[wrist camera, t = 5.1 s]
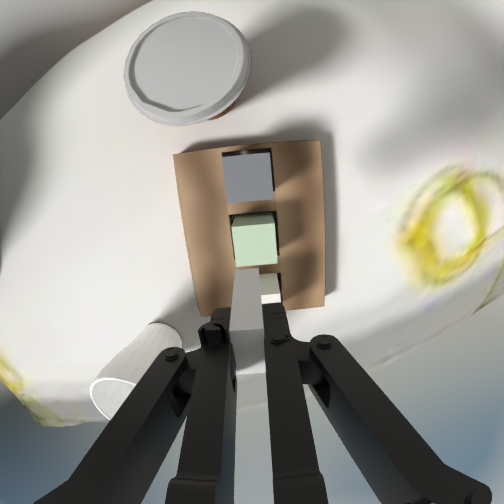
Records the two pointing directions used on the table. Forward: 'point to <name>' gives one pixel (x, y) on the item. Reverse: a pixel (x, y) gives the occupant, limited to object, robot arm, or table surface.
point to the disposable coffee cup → (187, 68)
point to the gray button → (247, 177)
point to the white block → (269, 288)
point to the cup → (130, 367)
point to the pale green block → (254, 239)
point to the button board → (219, 212)
